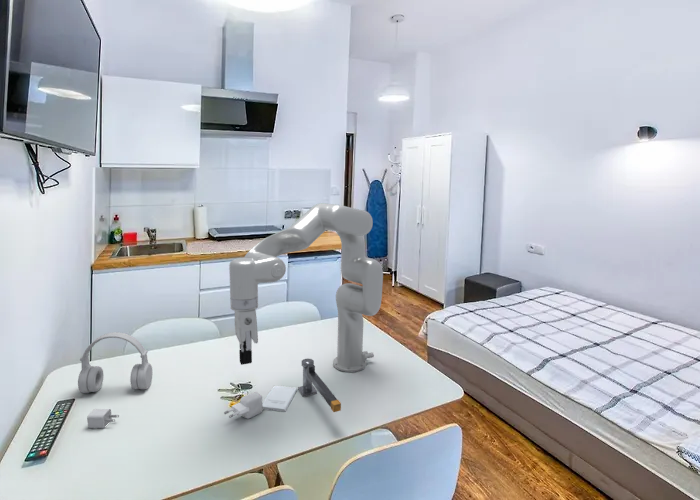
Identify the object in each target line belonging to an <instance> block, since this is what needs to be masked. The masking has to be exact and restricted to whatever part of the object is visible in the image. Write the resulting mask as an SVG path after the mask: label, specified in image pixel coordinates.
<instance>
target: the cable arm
mask: <svg viewBox="0 0 700 500" xmlns="http://www.w3.org/2000/svg"><path fill="white" fill-rule="evenodd" d="M301 366H302V368H303V367H305V368H307V376H308V378H309V379H310V380H311V382H312V385H313V386H314V388H315V389H316V390H317V392H319V394H320V395H321V397H322V399H324V401H325V402H326V404H327V405H328V406H329V407H330V410H331V411H332V413H337V412H341V411H342V410H341V409H342V402H341V401H340V400H339V399H337V397H336V396H335V394H334V393H332V391H331V390H330V389H329V388H328V386H327V385H326V383H325V382H324V381H323V379H322V378H321V377H320V376H319V375H318V374H317V372H316V366H315V360H313V359H312V358H304V359H302V360H301Z"/></svg>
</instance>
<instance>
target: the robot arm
mask: <svg viewBox="0 0 700 500" xmlns="http://www.w3.org/2000/svg"><path fill="white" fill-rule="evenodd" d="M373 220H374V219H373V217H372V215H371V213H369V211H367V210H363V209H358V208H353V207H349V206H346V205H341V204H336V203H335V204H334V203H324V202H322V203H321V202H320V203H316V204H314V205H313V206H312V207H310V208H309V209H308V210H307V211H305V213H303V214H302V216H300V217H299V218H298V219H297V220H295V222H293V223H292V224H291V225H289V226H288V227H287V228H285V229H283V230H280V231H278V232H276V233H274V234H271V235H269V236H267V237H265V238H263V239H262V240H260V241H259V242H258V243H256V244H255V245H254V246H253V247H252V248H251V249H249V251H248V252H247V253H246V254H245V255H244V257H237V258H235V259H231V261H230V262H229V265H228V266H229V268H228V270H229V293H230V294H229V296H230V299H229V301H230V309H231V310H232V311H234V330H235V331H234V332H235V335H236V339H237V341H238V343H239V363H240V365H249V364H252V363H253V352H252V351H253V350H252V343H254V344H258V343H259V335H258V334H259V331H258V319H257V311H256V310H257V309H258V308H259V289H258V287H259V286H258V285H259V284H264V283H265V284H267V283H270V284H271V283H275V282H278V281H280V280H282V278H283V277H284V276H285V275H286V270H287V267H286V264H285V262H284V261H283V260H282V259H281V258H279V257H278V256H281V255H283V254H288V253H295V252H298V251H304V250H306V249H308V248H309V247H311V245H312V244H313V243H315V241H316V240H317V239H318V238H319V237H321V236H322V235H323V234H324V233H325V232H326V231H331V232H335V233H336V234H337V235H338V236H339V239H340V243H341V254H340V255H341V259H340V262H341V263H340V273H341V276H342V278H343V279H345V280H347V281H350V283H349V282H348V283H343V284H341V285H340V286H339V287H338V288H337V290H336V294H335V303H336V308H337V343H336V344H337V347H336V348H337V349H336V350H337V351H336V353H337V354H336V355H337V356H336V357H335V358H333V360H332V366H333V368H335V369H336V370H338V371H340V372H345V373H357V372H360V371H362V370H364V369H365V368H366V366H367V361H366V360H367V359H372V358H374V356H375V354H374V352H368V350H365V351H363V347H364V346H363V344H364V317H363V316H368V317H373V316H375V315H377V313H379V310H380V309H381V305H382V299H383V298H382V297H383V284H384V283H383V282H384V270H383V267H382V264H381V263H380V262H379V261H378V260H377V259H374V258H372V257H371V258H370V257H367V256H366V241H365V237H364V236H366V235H367V234H369V233H370V232H371V230H372V229H373V223H374V222H373ZM351 282H353V283H351ZM355 283H357V284H355ZM359 284H361V285H359ZM252 341H253V342H252Z"/></svg>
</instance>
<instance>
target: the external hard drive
mask: <svg viewBox="0 0 700 500" xmlns="http://www.w3.org/2000/svg"><path fill="white" fill-rule="evenodd" d="M297 392H298V387H293V386H284V385H283V386H282V385H273V387H272V388H271V389H270V390H269V392H268V394H267V395H266V397H265V398H264V400H262V405H263V409H262V410H268V411H275V412H281V413H282V412H283V413H286V411H288V408H289V406H290V404H291V402H292V401H293V399H294V397H295V395H296V393H297Z"/></svg>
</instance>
